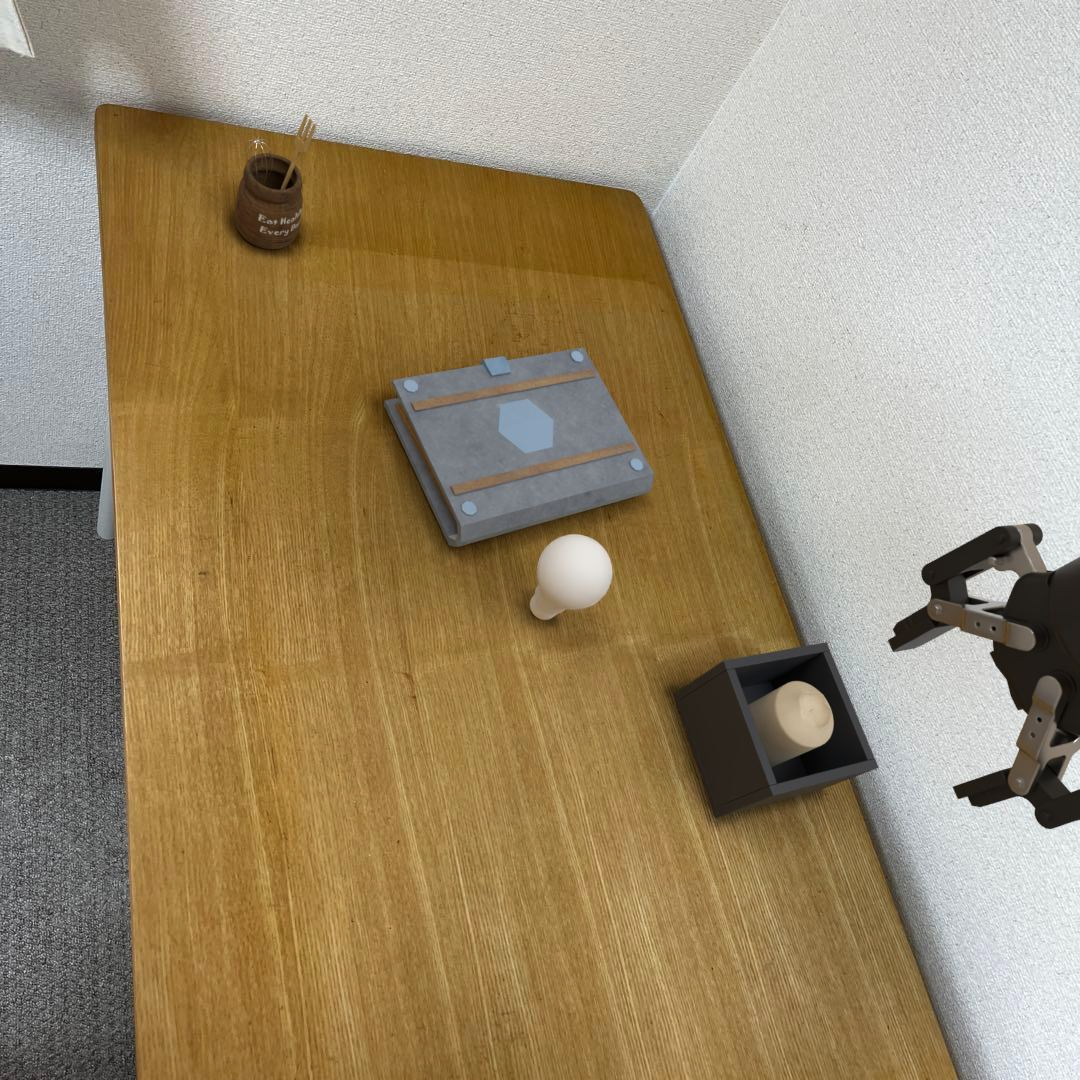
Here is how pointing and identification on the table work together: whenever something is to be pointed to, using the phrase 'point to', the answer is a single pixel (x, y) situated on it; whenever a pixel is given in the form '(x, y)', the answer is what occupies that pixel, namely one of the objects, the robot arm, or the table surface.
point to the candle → (792, 721)
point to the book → (516, 443)
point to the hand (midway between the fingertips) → (932, 715)
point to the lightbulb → (570, 576)
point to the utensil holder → (272, 195)
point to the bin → (734, 742)
